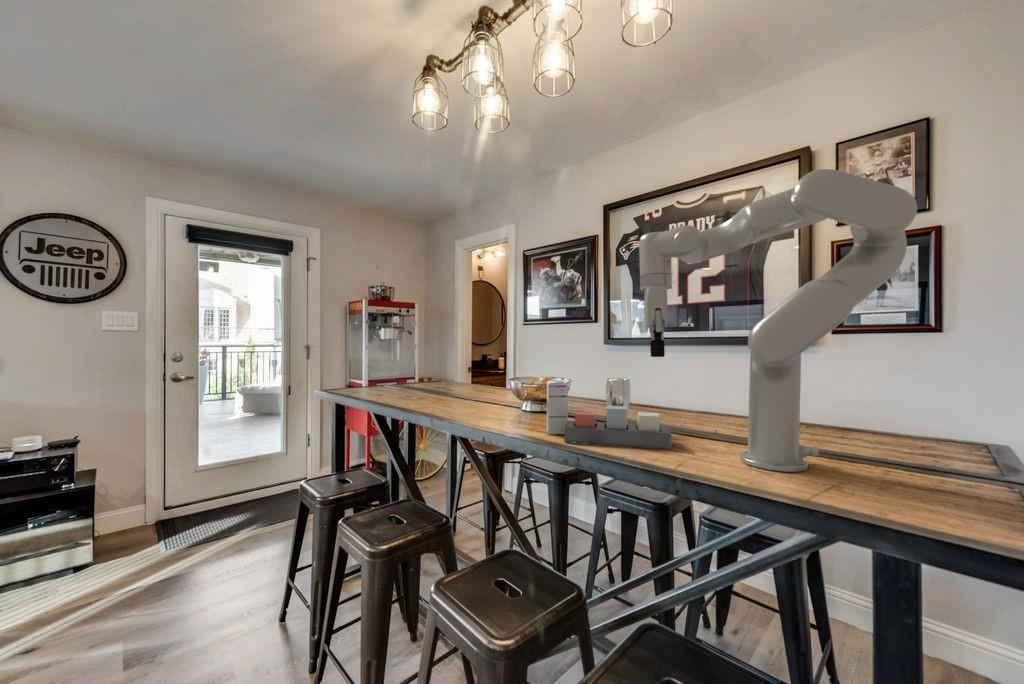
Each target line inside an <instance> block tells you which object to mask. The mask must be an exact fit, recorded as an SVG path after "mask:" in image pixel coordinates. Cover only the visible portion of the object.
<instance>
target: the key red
mask: <svg viewBox="0 0 1024 684" xmlns="http://www.w3.org/2000/svg"><path fill="white" fill-rule="evenodd" d="M574 416H575V417H574V418H575V419H574V421H575V426H576V427H592V428H595V422H596V411H586V410H576V411H575V415H574Z"/></svg>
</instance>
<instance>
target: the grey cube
mask: <svg viewBox="0 0 1024 684" xmlns="http://www.w3.org/2000/svg"><path fill="white" fill-rule="evenodd" d="M605 423H606V428H616V429H627V424H628V414H627V408H626V406H607V405H606V422H605Z"/></svg>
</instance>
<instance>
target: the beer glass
mask: <svg viewBox="0 0 1024 684" xmlns="http://www.w3.org/2000/svg"><path fill="white" fill-rule="evenodd" d="M630 380H631V379H628V378H614V377H613V378H611V377H610V378H607V379H606V387H605V399H606V407H607V406H626V408H627V415H628V413H629V407H630V402H631V381H630Z"/></svg>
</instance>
